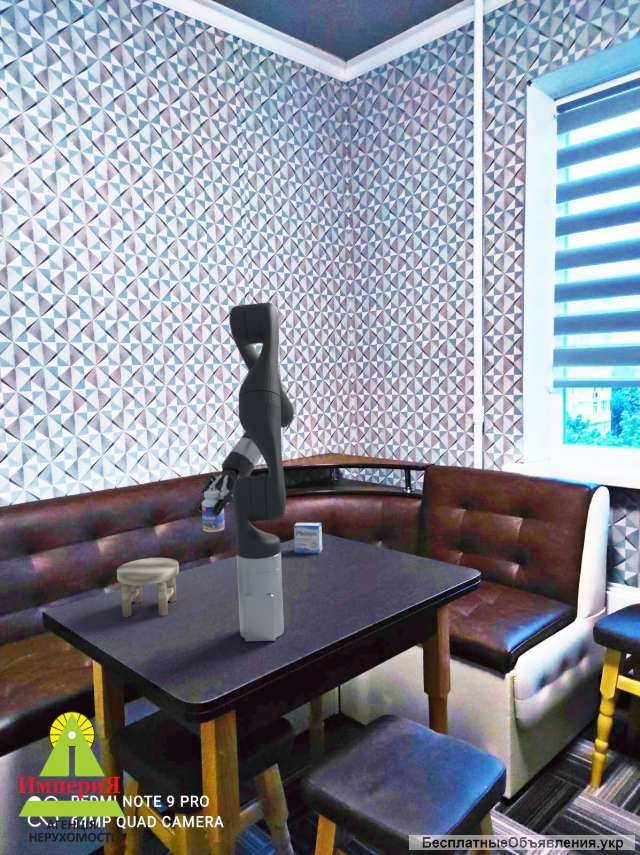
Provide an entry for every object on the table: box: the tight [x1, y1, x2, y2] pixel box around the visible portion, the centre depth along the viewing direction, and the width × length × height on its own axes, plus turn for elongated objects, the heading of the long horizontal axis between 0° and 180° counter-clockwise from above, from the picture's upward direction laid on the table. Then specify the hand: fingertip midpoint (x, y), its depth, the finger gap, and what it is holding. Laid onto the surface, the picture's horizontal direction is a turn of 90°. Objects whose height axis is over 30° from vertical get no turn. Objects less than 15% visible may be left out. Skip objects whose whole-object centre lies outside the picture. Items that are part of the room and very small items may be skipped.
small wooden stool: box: [116, 557, 180, 618], centre depth 143 cm, size 14×14×10 cm
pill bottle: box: [201, 489, 225, 533], centre depth 152 cm, size 5×5×10 cm
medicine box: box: [293, 522, 323, 554], centre depth 185 cm, size 8×4×9 cm, turn 80°
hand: (207, 512), depth 150 cm, fingers closed on pill bottle, 5 cm apart
